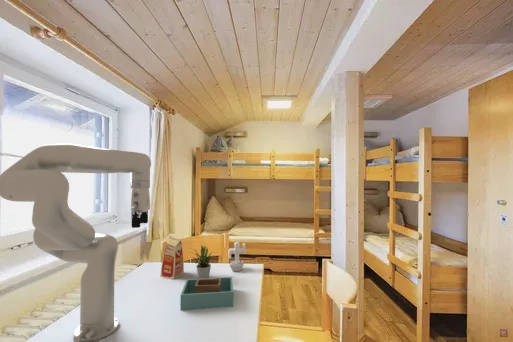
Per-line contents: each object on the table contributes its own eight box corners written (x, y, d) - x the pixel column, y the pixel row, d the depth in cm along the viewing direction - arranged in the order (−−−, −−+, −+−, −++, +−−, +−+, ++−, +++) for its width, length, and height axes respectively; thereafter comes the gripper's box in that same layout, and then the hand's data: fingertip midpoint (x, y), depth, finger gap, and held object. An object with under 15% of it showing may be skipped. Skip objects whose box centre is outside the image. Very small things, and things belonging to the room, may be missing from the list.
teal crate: (233, 307, 97) (233, 292, 98) (180, 311, 95) (180, 295, 95) (232, 290, 112) (232, 276, 113) (186, 293, 110) (186, 279, 110)
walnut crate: (219, 301, 101) (219, 285, 101) (194, 302, 100) (194, 286, 100) (220, 293, 107) (220, 278, 107) (197, 294, 107) (197, 279, 107)
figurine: (228, 267, 139) (228, 240, 140) (245, 267, 140) (245, 240, 140) (227, 272, 132) (227, 244, 133) (245, 272, 133) (245, 243, 133)
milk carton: (160, 277, 126) (160, 237, 127) (171, 270, 135) (171, 233, 135) (175, 279, 123) (175, 238, 124) (186, 272, 132) (186, 234, 133)
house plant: (185, 274, 129) (185, 243, 130) (211, 270, 135) (211, 240, 136) (191, 285, 116) (191, 250, 117) (219, 279, 123) (219, 246, 123)
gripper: (142, 185, 98) (142, 229, 98) (155, 184, 115) (155, 221, 115) (122, 185, 97) (122, 229, 97) (138, 184, 115) (138, 221, 114)
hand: (140, 225), depth 106 cm, fingers open, 9 cm apart
